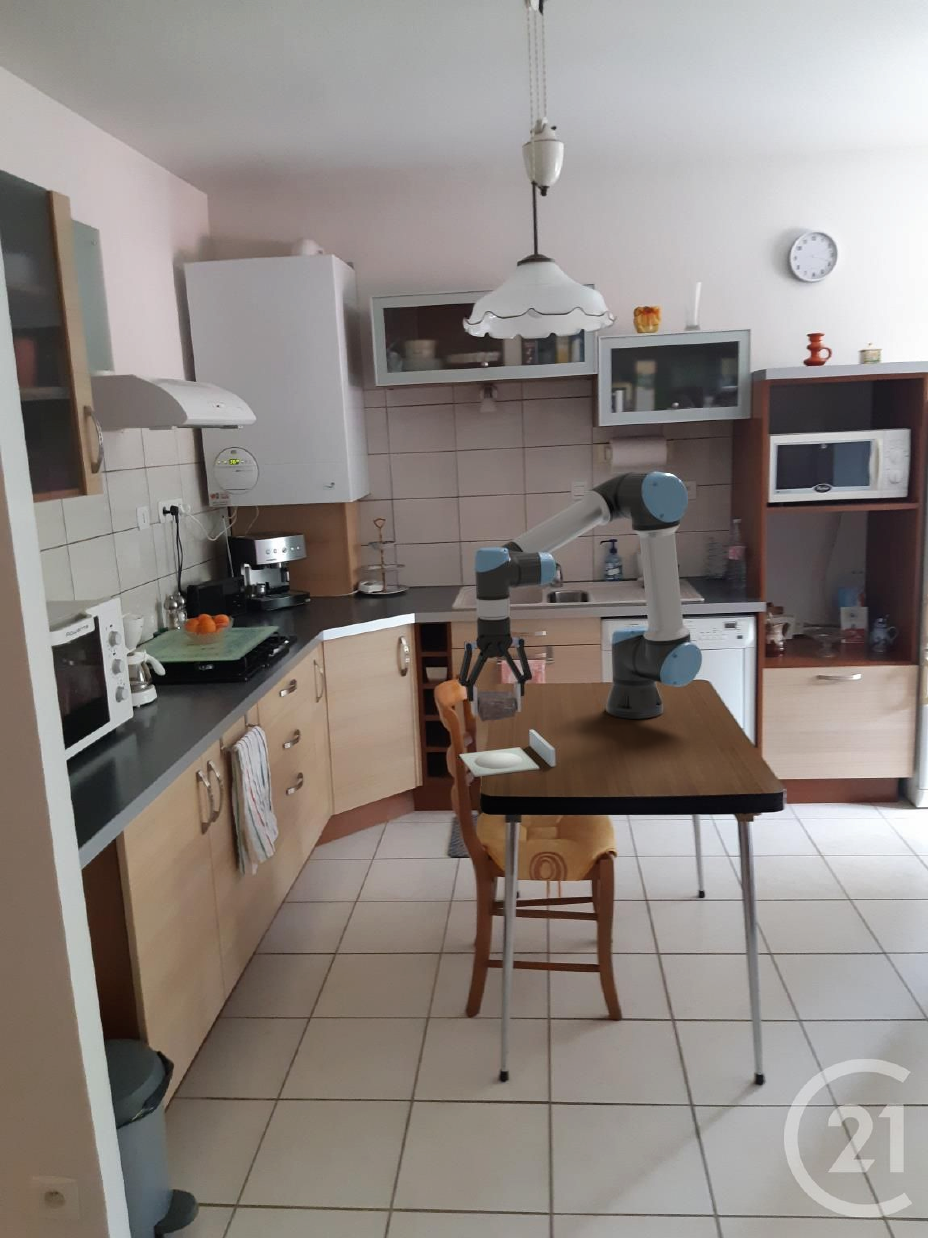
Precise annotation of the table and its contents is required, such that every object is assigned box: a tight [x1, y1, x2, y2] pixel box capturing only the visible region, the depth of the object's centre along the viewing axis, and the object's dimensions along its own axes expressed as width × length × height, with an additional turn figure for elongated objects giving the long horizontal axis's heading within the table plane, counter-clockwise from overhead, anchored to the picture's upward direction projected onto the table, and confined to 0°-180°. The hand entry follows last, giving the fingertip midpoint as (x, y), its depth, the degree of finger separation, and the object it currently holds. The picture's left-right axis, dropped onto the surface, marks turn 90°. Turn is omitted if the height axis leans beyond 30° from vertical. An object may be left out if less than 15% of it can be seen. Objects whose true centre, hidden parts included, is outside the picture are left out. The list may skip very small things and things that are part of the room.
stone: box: [477, 690, 517, 723], centre depth 212 cm, size 12×9×5 cm
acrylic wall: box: [528, 729, 556, 767], centre depth 218 cm, size 1×16×4 cm, turn 13°
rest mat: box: [459, 747, 540, 778], centre depth 214 cm, size 15×15×1 cm
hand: (496, 712), depth 212 cm, fingers closed on stone, 9 cm apart
